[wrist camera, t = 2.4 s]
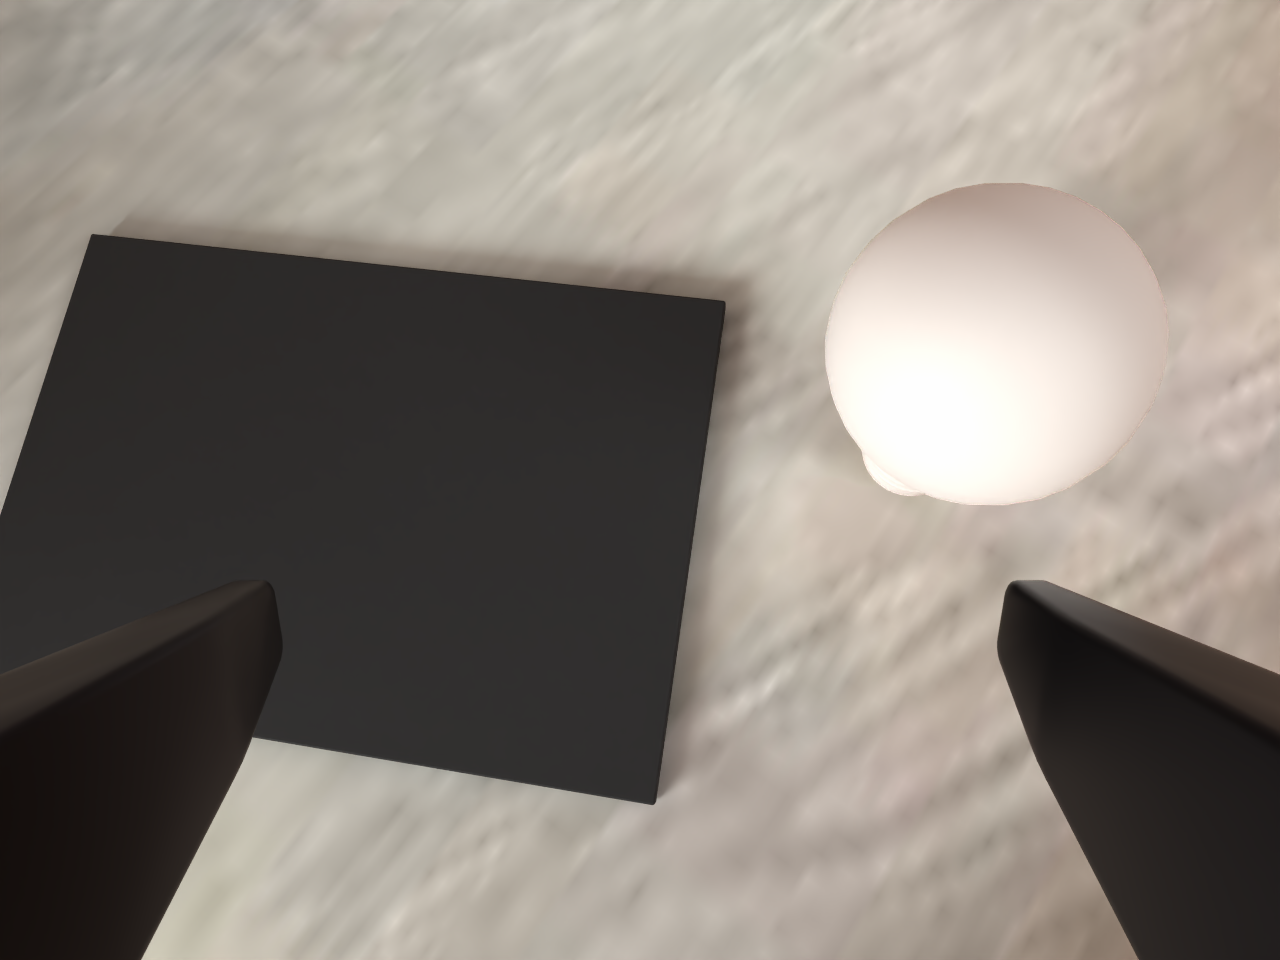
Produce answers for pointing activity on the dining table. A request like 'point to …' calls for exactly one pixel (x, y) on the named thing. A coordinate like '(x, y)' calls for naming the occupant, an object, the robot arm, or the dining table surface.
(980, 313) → the lightbulb
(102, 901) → the robot arm
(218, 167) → the dining table surface
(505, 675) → the mat
